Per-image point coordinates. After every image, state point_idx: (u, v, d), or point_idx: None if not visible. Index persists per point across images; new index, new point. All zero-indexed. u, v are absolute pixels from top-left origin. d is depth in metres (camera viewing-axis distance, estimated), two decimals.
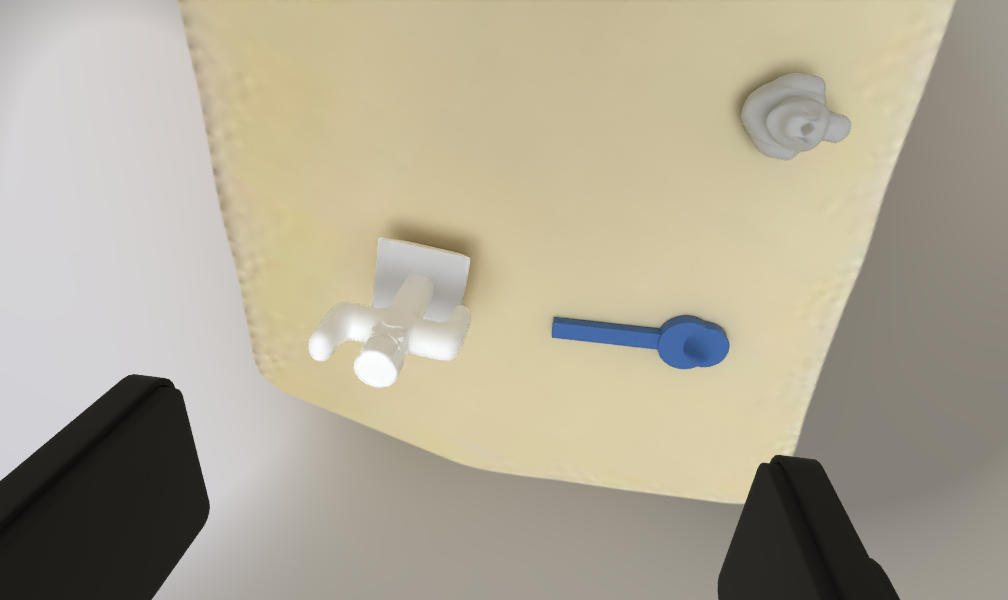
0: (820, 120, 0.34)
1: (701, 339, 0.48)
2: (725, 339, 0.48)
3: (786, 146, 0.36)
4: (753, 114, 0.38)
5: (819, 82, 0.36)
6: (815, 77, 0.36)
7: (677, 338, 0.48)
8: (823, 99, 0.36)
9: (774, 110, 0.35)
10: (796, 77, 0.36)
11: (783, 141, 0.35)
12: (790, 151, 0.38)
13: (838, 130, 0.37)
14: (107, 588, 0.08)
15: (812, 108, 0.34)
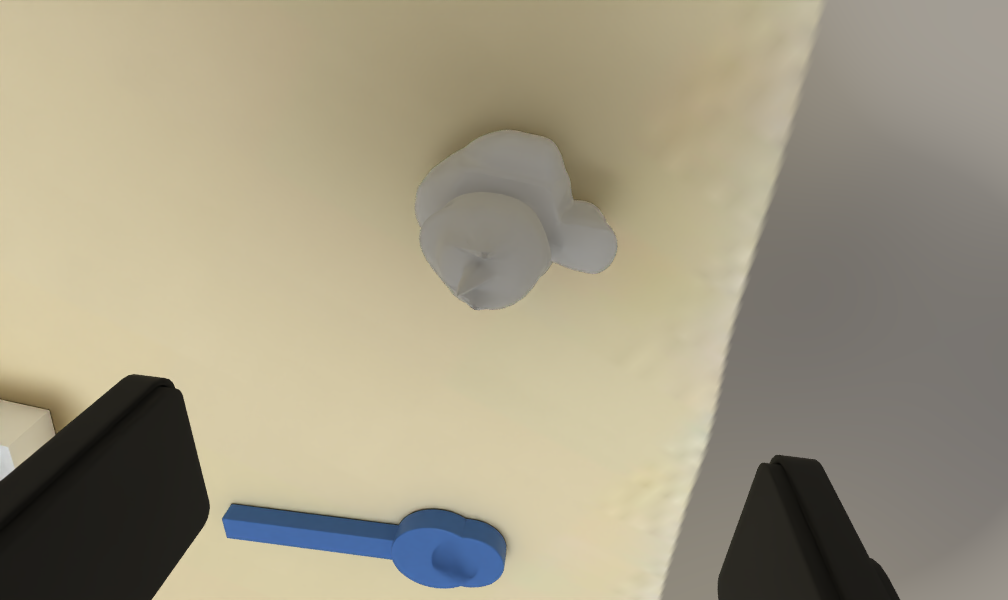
0: (502, 256, 0.15)
1: (456, 551, 0.29)
2: (494, 553, 0.28)
3: (458, 298, 0.16)
4: (424, 216, 0.18)
5: (540, 154, 0.17)
6: (534, 143, 0.17)
7: (418, 548, 0.29)
8: (552, 190, 0.17)
9: (427, 221, 0.16)
10: (494, 143, 0.17)
11: (449, 289, 0.16)
12: None
13: (588, 254, 0.17)
14: (107, 588, 0.08)
15: (484, 227, 0.15)
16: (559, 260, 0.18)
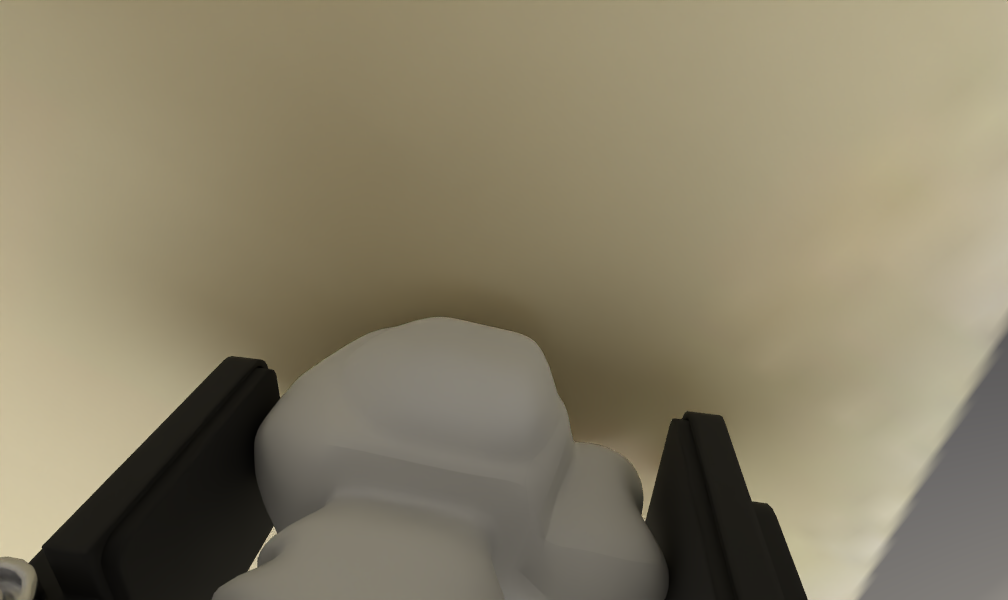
0: None
1: None
2: None
3: None
4: (265, 496, 0.09)
5: (500, 407, 0.07)
6: (488, 377, 0.08)
7: None
8: (527, 481, 0.08)
9: (220, 597, 0.07)
10: (399, 375, 0.08)
11: None
12: None
13: None
14: (219, 553, 0.09)
15: None
16: None
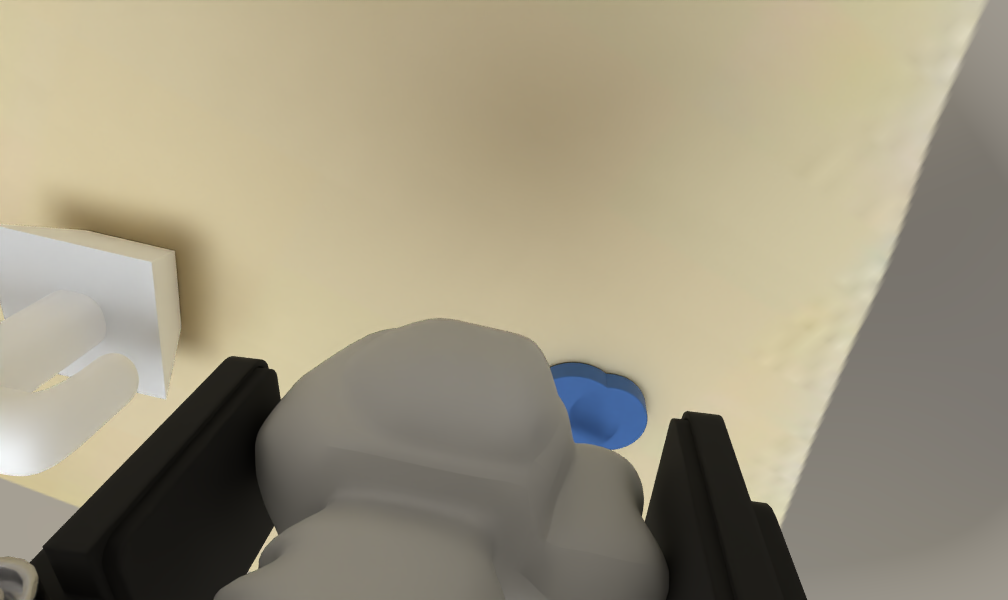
0: None
1: (598, 405, 0.27)
2: (639, 405, 0.27)
3: None
4: (266, 497, 0.09)
5: (501, 408, 0.07)
6: (489, 378, 0.08)
7: None
8: (528, 482, 0.08)
9: (222, 598, 0.07)
10: (400, 377, 0.08)
11: None
12: None
13: None
14: (220, 553, 0.09)
15: None
16: None
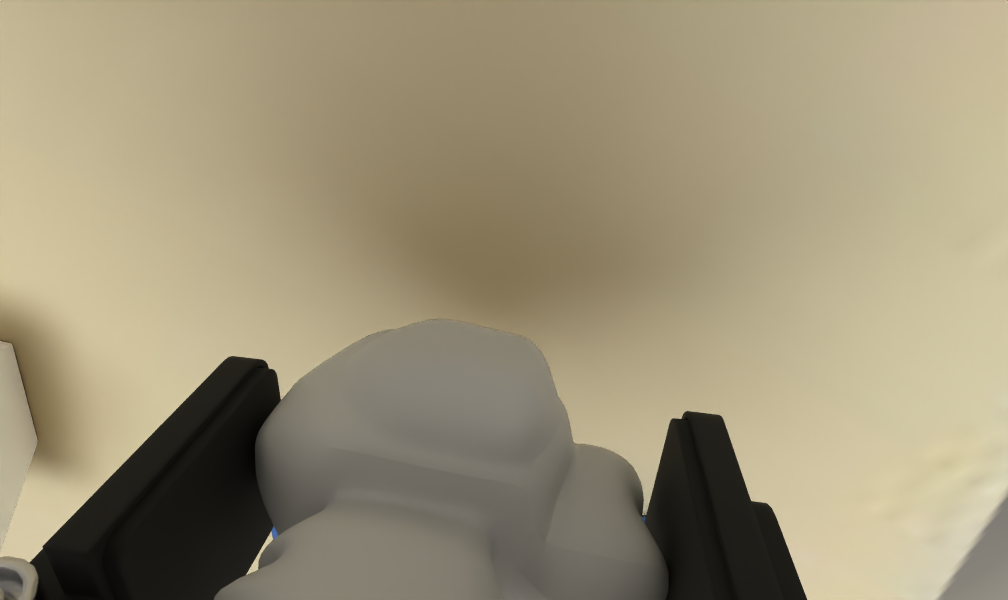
0: None
1: None
2: None
3: None
4: (266, 498, 0.09)
5: (501, 410, 0.07)
6: (488, 379, 0.08)
7: None
8: (527, 483, 0.08)
9: (221, 599, 0.07)
10: (400, 378, 0.08)
11: None
12: None
13: None
14: (220, 553, 0.09)
15: None
16: None
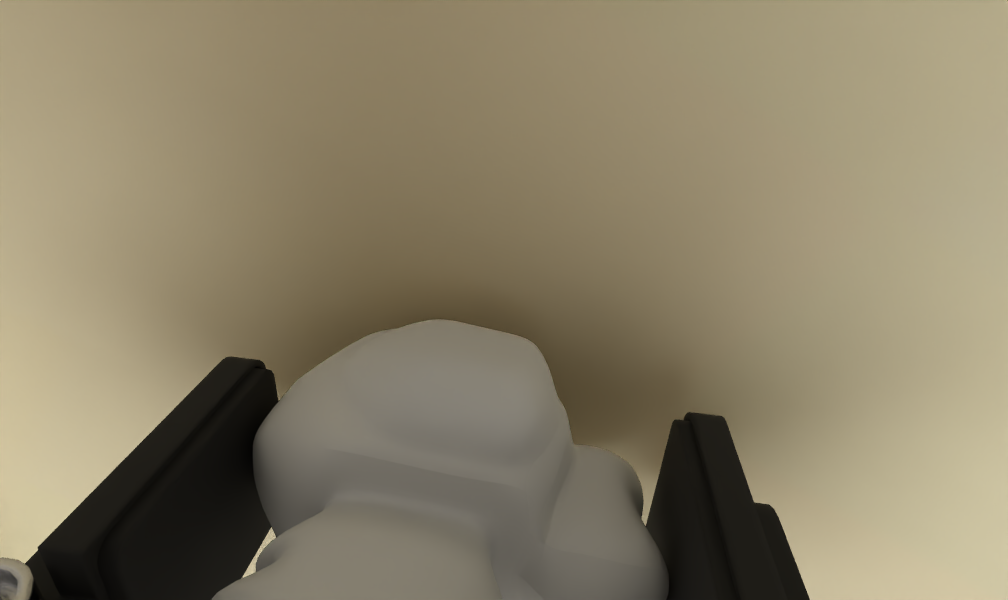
0: None
1: None
2: None
3: None
4: (264, 499, 0.09)
5: (500, 411, 0.07)
6: (488, 380, 0.08)
7: None
8: (527, 485, 0.08)
9: None
10: (398, 379, 0.08)
11: None
12: None
13: None
14: (217, 554, 0.09)
15: None
16: None
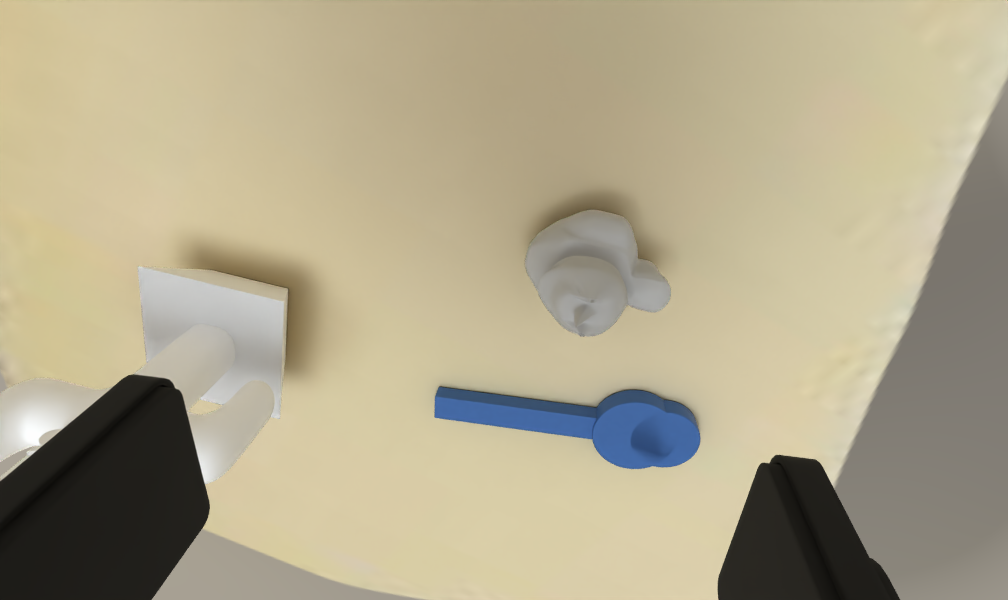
0: (601, 301, 0.22)
1: (657, 427, 0.31)
2: (694, 428, 0.31)
3: None
4: (534, 268, 0.26)
5: (620, 230, 0.24)
6: (616, 222, 0.25)
7: (621, 425, 0.31)
8: (627, 254, 0.25)
9: (545, 275, 0.24)
10: (588, 221, 0.25)
11: (559, 321, 0.24)
12: None
13: (651, 299, 0.25)
14: (107, 588, 0.08)
15: (589, 282, 0.22)
16: (629, 302, 0.25)
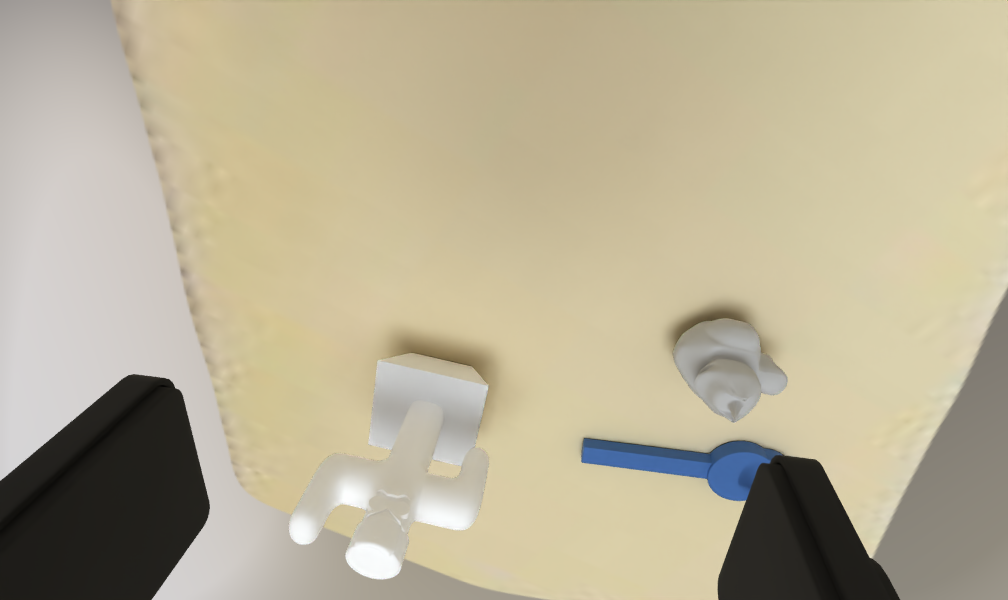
0: (748, 398, 0.31)
1: None
2: None
3: (715, 412, 0.33)
4: (683, 363, 0.35)
5: (752, 338, 0.33)
6: (748, 332, 0.34)
7: (731, 468, 0.40)
8: (757, 355, 0.34)
9: (701, 375, 0.33)
10: (728, 331, 0.34)
11: (711, 408, 0.33)
12: None
13: (774, 387, 0.34)
14: (107, 588, 0.08)
15: (740, 384, 0.31)
16: None
